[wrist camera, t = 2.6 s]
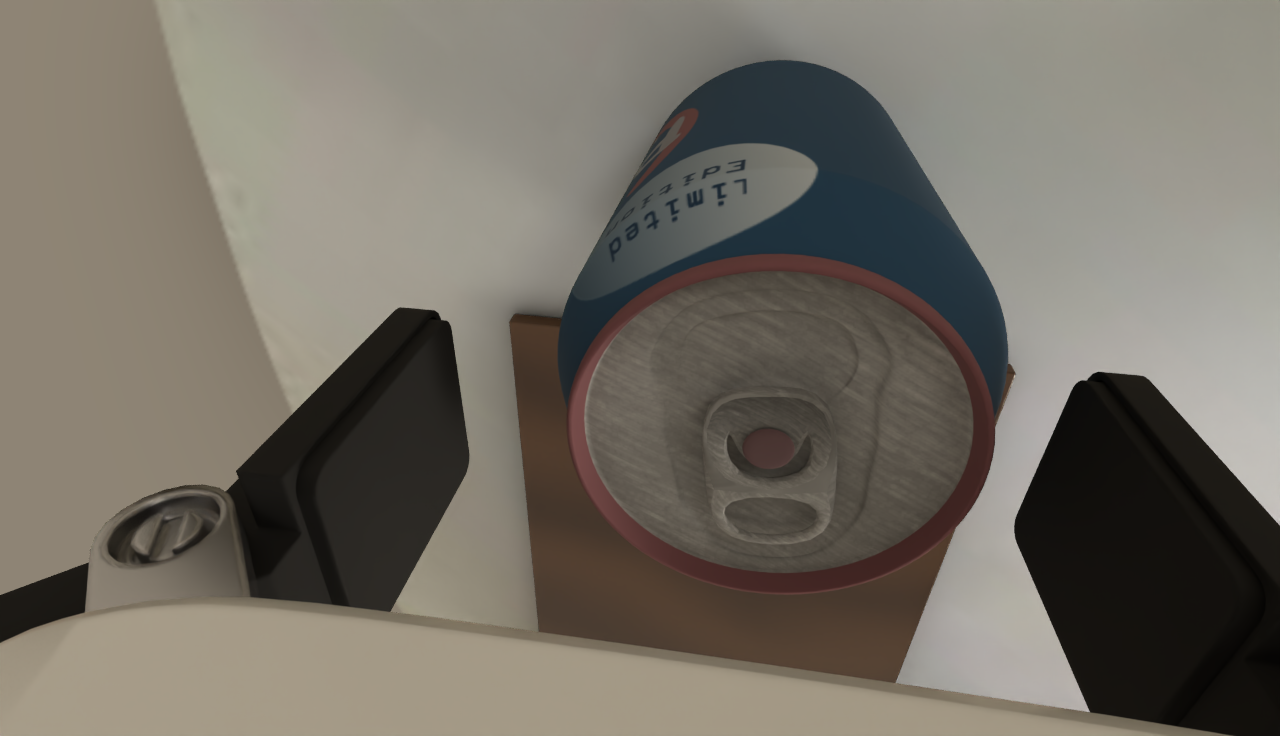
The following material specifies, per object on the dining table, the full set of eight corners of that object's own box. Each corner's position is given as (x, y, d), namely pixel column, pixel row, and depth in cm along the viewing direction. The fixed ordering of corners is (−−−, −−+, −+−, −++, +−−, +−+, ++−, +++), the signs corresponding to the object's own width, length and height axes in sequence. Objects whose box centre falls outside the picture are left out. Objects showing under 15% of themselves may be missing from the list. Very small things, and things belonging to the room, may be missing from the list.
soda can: (636, 66, 18) (469, 231, 8) (911, 37, 17) (1114, 192, 7) (663, 299, 22) (569, 609, 12) (890, 291, 20) (1002, 636, 10)
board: (514, 312, 23) (508, 321, 22) (1011, 363, 21) (1017, 373, 20) (546, 664, 34) (543, 675, 33) (875, 720, 32) (876, 732, 31)
